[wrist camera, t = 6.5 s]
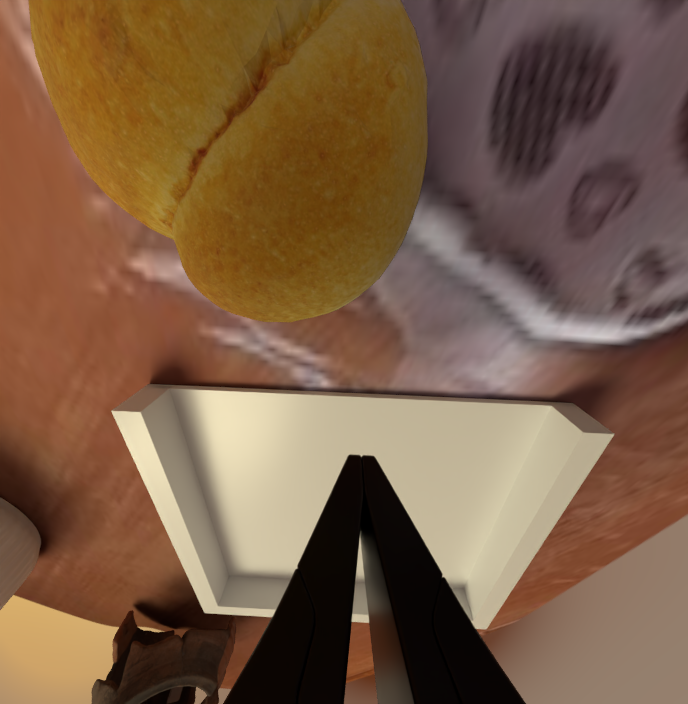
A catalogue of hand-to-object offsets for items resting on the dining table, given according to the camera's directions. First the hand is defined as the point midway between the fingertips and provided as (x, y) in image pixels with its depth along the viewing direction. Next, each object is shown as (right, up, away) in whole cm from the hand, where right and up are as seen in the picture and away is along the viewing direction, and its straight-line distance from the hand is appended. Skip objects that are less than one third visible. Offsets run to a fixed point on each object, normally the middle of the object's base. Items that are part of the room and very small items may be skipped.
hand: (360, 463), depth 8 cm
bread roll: (+1, +9, +1) cm, 9 cm away
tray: (0, -7, +7) cm, 10 cm away
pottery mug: (-16, -22, +16) cm, 31 cm away
